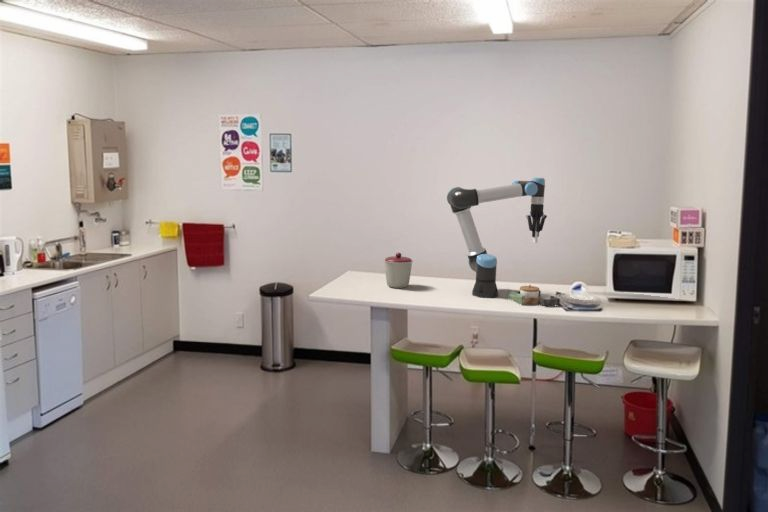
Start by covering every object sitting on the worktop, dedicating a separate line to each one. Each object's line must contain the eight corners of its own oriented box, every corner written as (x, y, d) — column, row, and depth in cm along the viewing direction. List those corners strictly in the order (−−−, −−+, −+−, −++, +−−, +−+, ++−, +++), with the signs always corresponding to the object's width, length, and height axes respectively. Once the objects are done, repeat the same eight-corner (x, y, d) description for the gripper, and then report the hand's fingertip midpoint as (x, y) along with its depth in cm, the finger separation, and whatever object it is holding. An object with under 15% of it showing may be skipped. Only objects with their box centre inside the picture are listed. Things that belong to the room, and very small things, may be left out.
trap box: (526, 307, 366) (527, 298, 365) (503, 296, 393) (503, 287, 393) (559, 306, 371) (559, 297, 370) (534, 294, 399) (534, 286, 398)
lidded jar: (538, 303, 376) (539, 287, 374) (519, 302, 378) (519, 286, 376) (538, 299, 386) (539, 283, 384) (519, 298, 388) (520, 282, 387)
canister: (382, 283, 422) (383, 250, 419) (411, 283, 423) (412, 250, 419) (383, 289, 404) (384, 254, 401) (413, 289, 405) (414, 255, 401)
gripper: (530, 204, 398) (528, 243, 402) (550, 204, 402) (547, 243, 406) (524, 203, 405) (522, 241, 409) (543, 203, 409) (541, 241, 413)
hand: (535, 242), depth 407 cm, fingers closed
